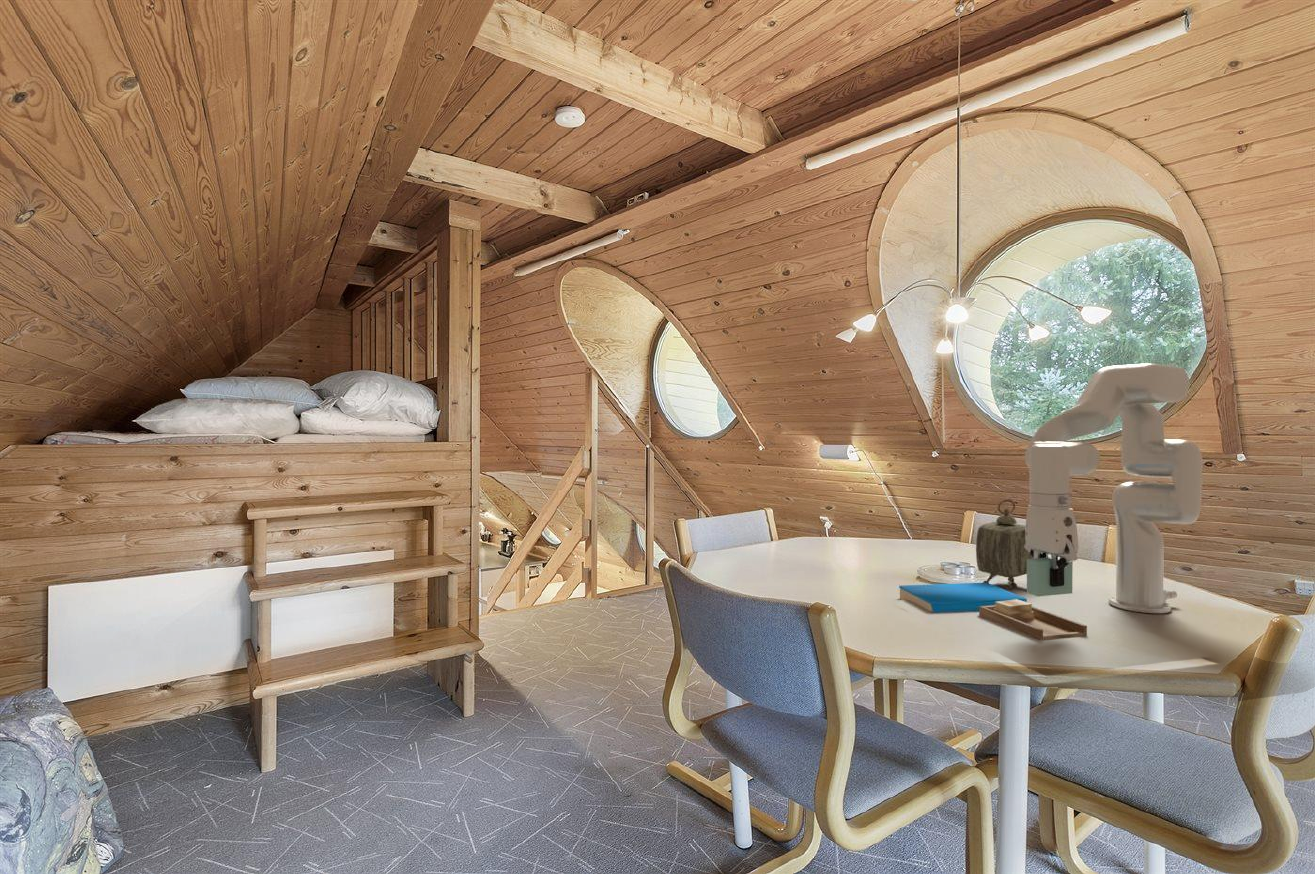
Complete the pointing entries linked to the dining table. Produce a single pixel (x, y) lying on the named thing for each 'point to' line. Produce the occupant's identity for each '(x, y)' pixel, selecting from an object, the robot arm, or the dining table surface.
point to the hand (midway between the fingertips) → (1050, 583)
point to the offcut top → (1013, 606)
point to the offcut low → (1019, 615)
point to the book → (956, 596)
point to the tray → (1037, 624)
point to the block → (1046, 578)
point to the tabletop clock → (1002, 547)
